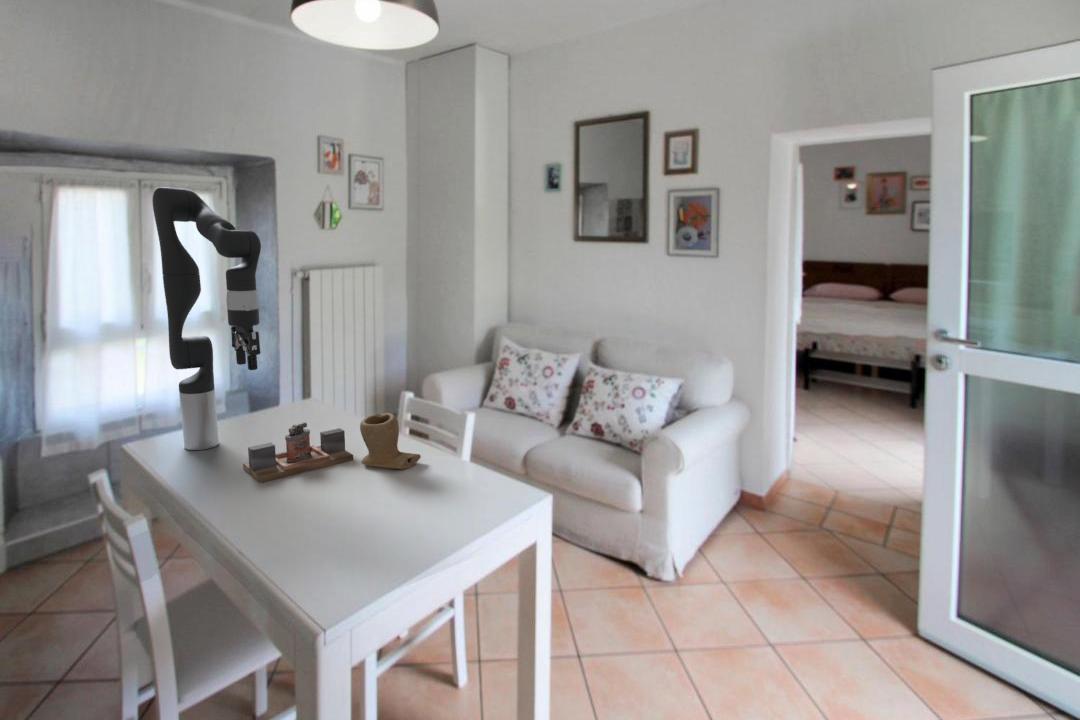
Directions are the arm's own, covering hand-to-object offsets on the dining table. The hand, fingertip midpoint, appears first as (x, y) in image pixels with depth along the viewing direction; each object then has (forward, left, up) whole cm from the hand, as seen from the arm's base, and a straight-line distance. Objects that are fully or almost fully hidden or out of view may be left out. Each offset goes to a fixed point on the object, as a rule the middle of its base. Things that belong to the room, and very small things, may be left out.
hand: (247, 366), depth 167 cm
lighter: (+7, +10, -27) cm, 29 cm away
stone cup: (+24, +28, -28) cm, 46 cm away
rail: (+7, +10, -28) cm, 31 cm away
